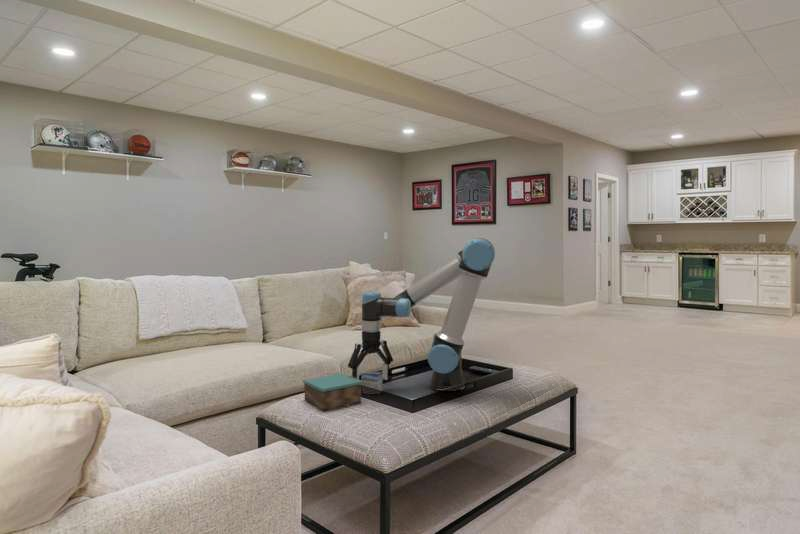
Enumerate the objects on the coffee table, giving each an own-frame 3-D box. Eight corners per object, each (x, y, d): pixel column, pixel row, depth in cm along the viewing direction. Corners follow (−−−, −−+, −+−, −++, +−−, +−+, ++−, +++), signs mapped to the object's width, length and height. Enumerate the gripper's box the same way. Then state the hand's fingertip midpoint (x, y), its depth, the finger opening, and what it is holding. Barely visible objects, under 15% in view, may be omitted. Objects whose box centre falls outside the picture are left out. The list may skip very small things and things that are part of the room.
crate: (340, 392, 214) (340, 375, 213) (361, 403, 201) (360, 385, 200) (304, 400, 204) (304, 382, 204) (323, 411, 191) (323, 392, 191)
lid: (341, 375, 213) (341, 373, 213) (363, 383, 200) (363, 381, 200) (303, 382, 204) (303, 380, 204) (323, 392, 190) (322, 389, 190)
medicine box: (361, 394, 212) (360, 373, 211) (364, 390, 216) (364, 370, 215) (379, 395, 210) (379, 374, 209) (382, 392, 214) (382, 371, 213)
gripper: (391, 325, 221) (391, 375, 223) (339, 332, 207) (339, 384, 209) (401, 328, 215) (401, 379, 217) (348, 335, 201) (348, 389, 202)
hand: (370, 382), depth 213 cm, fingers open, 13 cm apart
